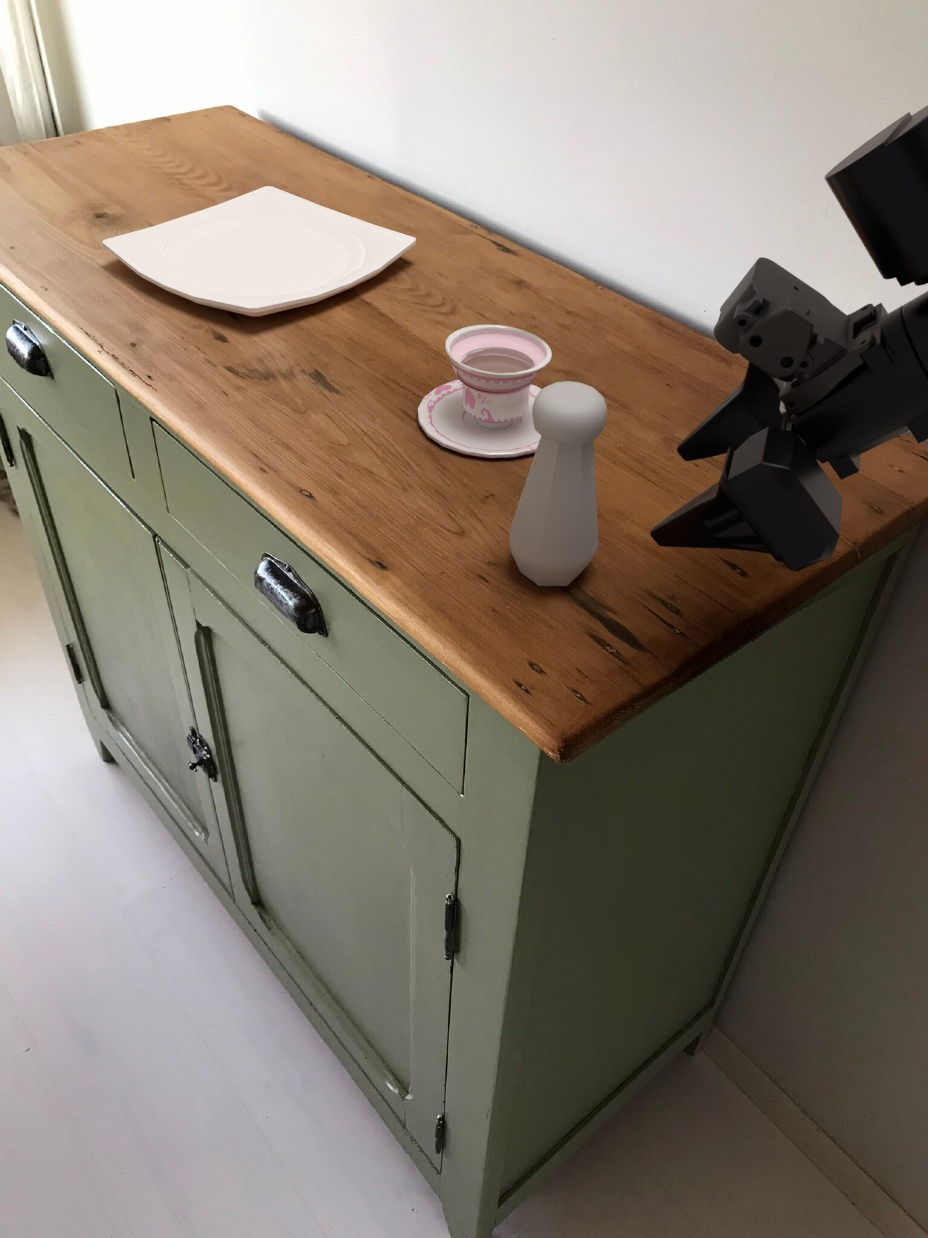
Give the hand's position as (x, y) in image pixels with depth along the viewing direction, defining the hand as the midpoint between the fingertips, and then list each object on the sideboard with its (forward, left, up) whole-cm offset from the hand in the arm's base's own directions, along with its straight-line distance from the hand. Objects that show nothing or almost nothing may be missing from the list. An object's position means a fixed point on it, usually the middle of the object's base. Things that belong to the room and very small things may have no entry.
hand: (668, 494), depth 57 cm
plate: (+57, -13, -8) cm, 59 cm away
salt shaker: (+6, +3, -8) cm, 10 cm away
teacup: (+21, -8, -8) cm, 24 cm away
